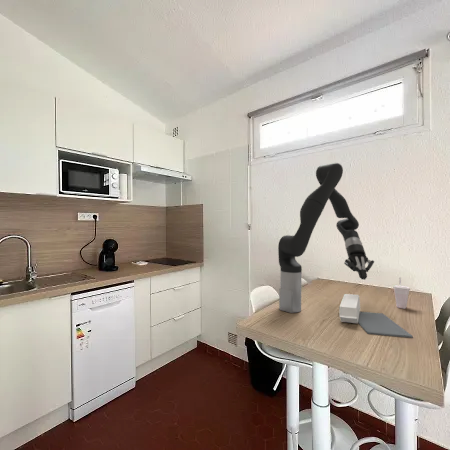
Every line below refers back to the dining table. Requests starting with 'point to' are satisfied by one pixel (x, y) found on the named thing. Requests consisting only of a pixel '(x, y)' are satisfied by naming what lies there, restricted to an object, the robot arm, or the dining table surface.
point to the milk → (349, 308)
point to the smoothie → (401, 295)
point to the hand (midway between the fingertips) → (364, 278)
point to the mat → (380, 325)
